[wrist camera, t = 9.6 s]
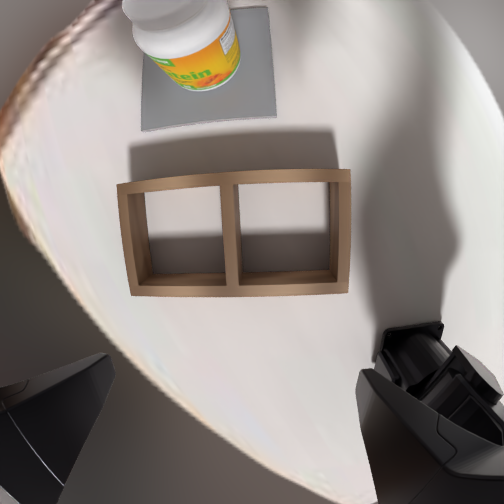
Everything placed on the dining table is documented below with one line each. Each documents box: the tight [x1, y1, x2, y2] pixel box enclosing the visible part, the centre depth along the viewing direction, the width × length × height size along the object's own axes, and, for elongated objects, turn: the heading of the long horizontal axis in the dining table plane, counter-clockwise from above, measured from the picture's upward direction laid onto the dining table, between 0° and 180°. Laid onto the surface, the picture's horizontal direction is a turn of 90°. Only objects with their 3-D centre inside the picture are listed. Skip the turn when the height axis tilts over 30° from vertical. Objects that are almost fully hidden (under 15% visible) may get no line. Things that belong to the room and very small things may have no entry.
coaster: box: [141, 7, 277, 132], centre depth 17 cm, size 10×10×1 cm
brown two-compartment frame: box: [117, 169, 351, 297], centre depth 19 cm, size 15×8×3 cm, turn 93°
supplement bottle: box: [122, 0, 241, 91], centre depth 12 cm, size 5×5×10 cm
